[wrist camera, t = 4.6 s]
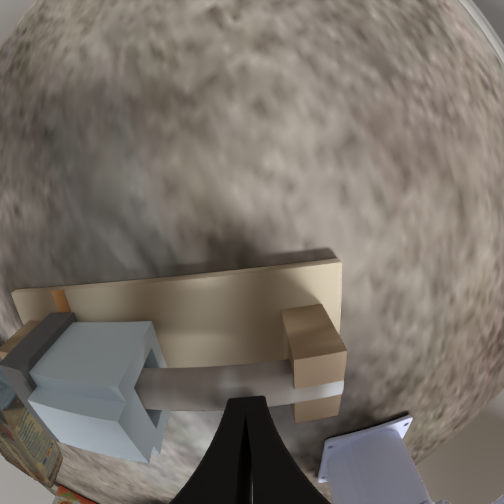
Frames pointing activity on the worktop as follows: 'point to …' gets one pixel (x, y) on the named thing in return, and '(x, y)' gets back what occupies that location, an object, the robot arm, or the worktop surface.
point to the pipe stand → (221, 334)
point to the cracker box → (69, 497)
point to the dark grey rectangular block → (34, 358)
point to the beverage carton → (26, 438)
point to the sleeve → (100, 389)
